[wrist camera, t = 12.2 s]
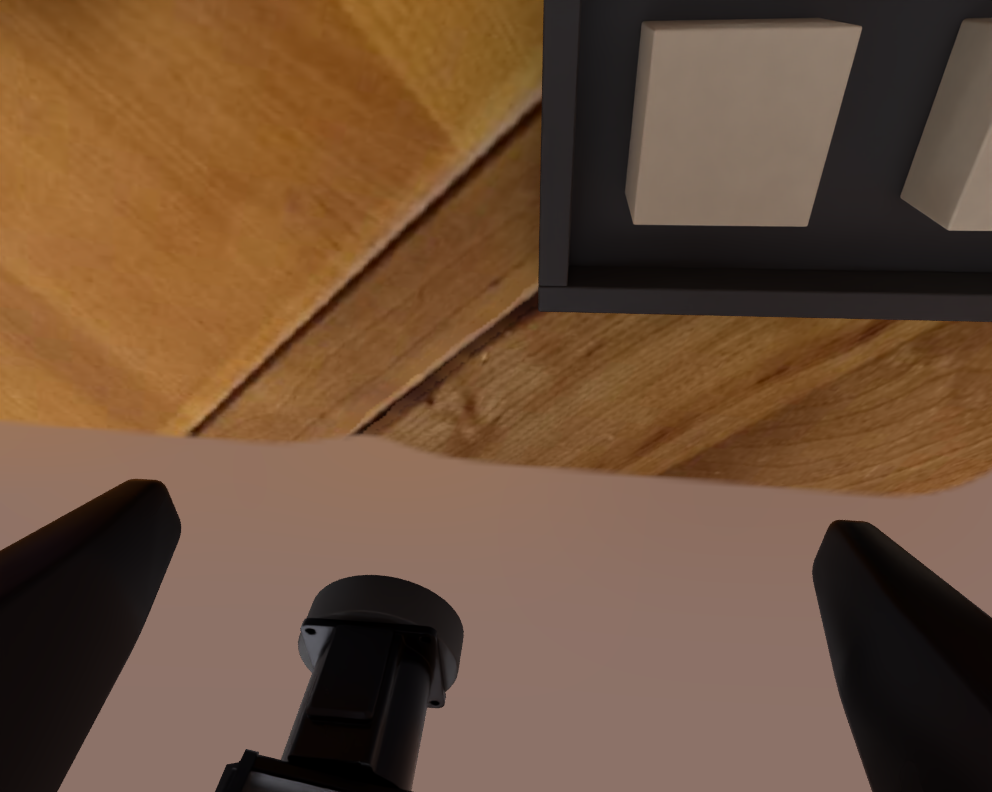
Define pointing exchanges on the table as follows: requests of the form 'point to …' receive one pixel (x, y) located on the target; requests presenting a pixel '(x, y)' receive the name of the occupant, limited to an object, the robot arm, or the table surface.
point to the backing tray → (754, 249)
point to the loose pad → (735, 119)
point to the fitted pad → (958, 138)
